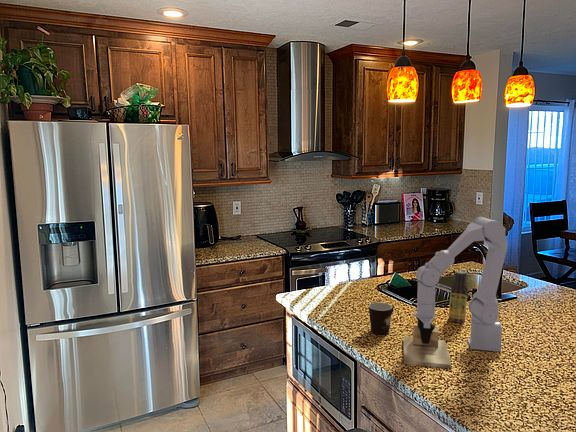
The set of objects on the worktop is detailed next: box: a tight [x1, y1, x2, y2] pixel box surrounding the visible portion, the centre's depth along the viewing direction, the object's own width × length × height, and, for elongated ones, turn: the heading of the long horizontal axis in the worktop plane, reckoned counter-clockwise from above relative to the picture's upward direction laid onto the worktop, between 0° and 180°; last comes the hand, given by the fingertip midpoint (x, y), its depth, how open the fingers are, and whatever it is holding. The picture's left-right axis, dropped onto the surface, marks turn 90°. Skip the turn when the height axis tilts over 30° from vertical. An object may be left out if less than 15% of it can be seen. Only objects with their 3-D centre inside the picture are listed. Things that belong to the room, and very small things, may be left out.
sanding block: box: [412, 325, 440, 348], centre depth 145 cm, size 8×4×6 cm, turn 76°
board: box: [402, 336, 452, 369], centre depth 142 cm, size 14×18×1 cm
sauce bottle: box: [448, 270, 468, 324], centre depth 168 cm, size 6×6×20 cm
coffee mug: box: [368, 301, 395, 337], centre depth 159 cm, size 12×9×10 cm
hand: (424, 340), depth 146 cm, fingers closed on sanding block, 4 cm apart
